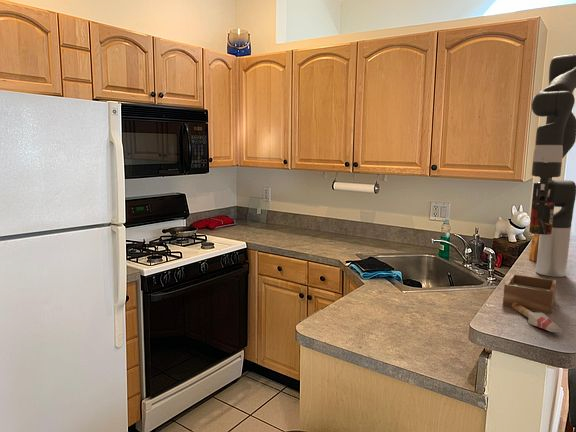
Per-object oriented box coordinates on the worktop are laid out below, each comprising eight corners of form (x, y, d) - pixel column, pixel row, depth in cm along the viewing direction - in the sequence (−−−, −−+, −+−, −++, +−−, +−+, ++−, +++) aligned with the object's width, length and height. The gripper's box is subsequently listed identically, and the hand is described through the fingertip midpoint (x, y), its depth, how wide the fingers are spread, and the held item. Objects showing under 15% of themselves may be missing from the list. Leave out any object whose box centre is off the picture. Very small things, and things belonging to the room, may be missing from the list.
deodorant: (531, 230, 140) (535, 182, 137) (553, 232, 136) (558, 183, 134) (527, 232, 135) (531, 183, 133) (549, 235, 131) (554, 184, 129)
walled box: (510, 292, 136) (512, 273, 135) (554, 300, 129) (556, 280, 128) (502, 305, 124) (504, 284, 123) (550, 314, 118) (552, 292, 117)
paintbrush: (549, 325, 102) (508, 300, 122) (548, 337, 102) (507, 310, 122) (566, 325, 102) (522, 300, 122) (565, 337, 102) (522, 310, 122)
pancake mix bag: (552, 255, 187) (559, 189, 183) (545, 264, 172) (552, 192, 168) (534, 253, 191) (540, 188, 187) (526, 261, 176) (532, 191, 172)
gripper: (535, 160, 140) (530, 212, 143) (530, 160, 128) (524, 218, 131) (563, 160, 136) (557, 214, 138) (560, 161, 124) (554, 220, 127)
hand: (541, 216), depth 135 cm, fingers closed on deodorant, 6 cm apart
